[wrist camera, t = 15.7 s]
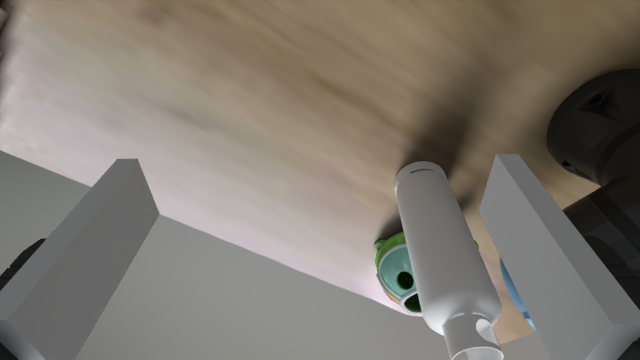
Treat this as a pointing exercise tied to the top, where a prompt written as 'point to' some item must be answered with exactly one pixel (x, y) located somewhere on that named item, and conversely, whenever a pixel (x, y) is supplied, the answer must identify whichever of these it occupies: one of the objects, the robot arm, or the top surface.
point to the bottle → (447, 263)
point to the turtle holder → (397, 272)
